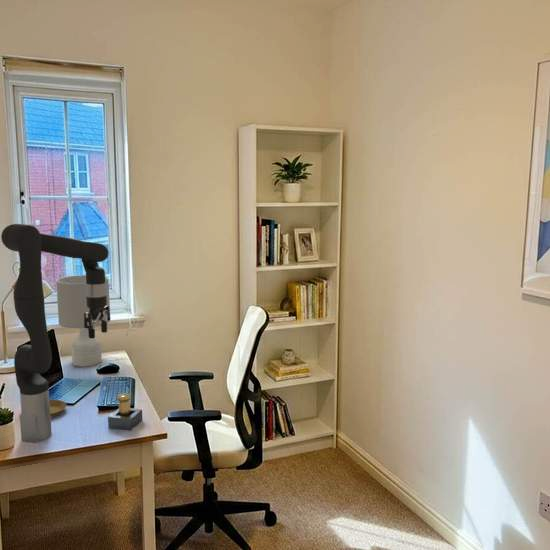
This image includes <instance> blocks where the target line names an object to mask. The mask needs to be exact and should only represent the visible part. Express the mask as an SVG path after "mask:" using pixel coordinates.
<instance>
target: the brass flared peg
mask: <svg viewBox="0 0 550 550" xmlns="http://www.w3.org/2000/svg"><path fill="white" fill-rule="evenodd" d="M116 399H117V402H118V409H119V416H124V417H129V416H130V408H131V400H132V394H131V393H129V392H128V393H126V392H125V393H120V394H117V396H116Z"/></svg>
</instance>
